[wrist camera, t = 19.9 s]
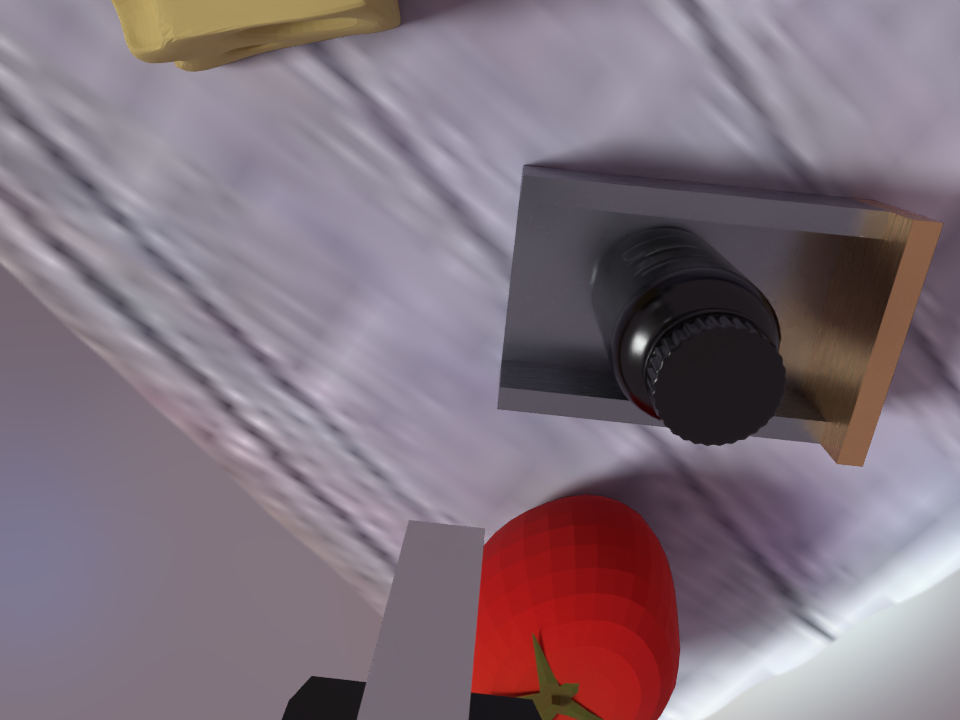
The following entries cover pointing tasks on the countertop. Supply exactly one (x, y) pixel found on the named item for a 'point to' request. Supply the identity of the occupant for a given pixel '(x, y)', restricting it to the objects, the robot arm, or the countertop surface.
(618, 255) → the supplement bottle
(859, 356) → the guide channel
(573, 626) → the tomato
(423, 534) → the robot arm
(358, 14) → the cheese
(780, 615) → the countertop surface
